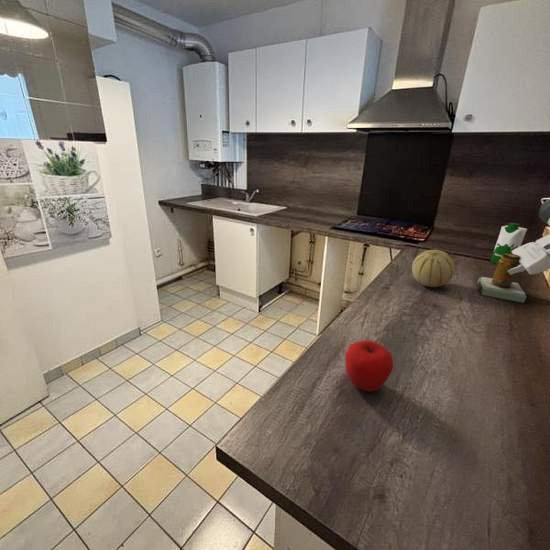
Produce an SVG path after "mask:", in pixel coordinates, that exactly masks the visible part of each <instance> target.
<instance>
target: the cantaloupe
mask: <svg viewBox="0 0 550 550" xmlns="http://www.w3.org/2000/svg"><path fill="white" fill-rule="evenodd" d="M411 265H412V266H411V272H412V275H413V277H414V279H415V280H416V281H417V282H418V283H419V284H421V285H422V286H425V287H427V288H428V287H429V288H438V287H442V286H444V285H446V284H448V283H449V282H450V281H451V280H452V279H453V277H454V275H455V271H456V265H455V262H454V259H452V257H451V255H449V254H448V253H447V252H445V251H443V250H440V249H428V250H424V251H423V252H421V253H419V254H418V255H417V256H416V257H415V259H414V260H413V262H412V264H411Z"/></svg>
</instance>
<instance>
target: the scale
mask: <svg viewBox="0 0 550 550" xmlns="http://www.w3.org/2000/svg"><path fill="white" fill-rule="evenodd" d="M492 279H493V277H492V278H491V277H487V276H481V277H479V278H478V281H477V286H478V288H479V291H480V293H481V295H482V296H487V297H492V298H497V299H502V300H507V301H511V302H512V301H513V302H518V303H523V304H525V302H526V300H527V295H526V293H525V291H524V290H523V288H522V287H521V286H520V284H519V282H513V281H512V284H511V285H513V286H516V287H518V288H520V289H516V290H505V289H502V288H500V287H498V286H495V285H492V284H490V283H488V282H486V281H492Z"/></svg>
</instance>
